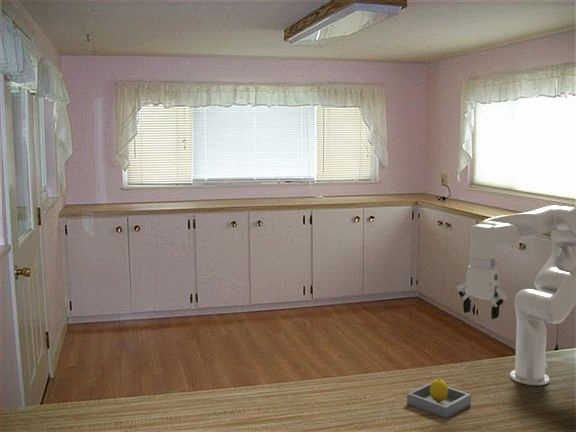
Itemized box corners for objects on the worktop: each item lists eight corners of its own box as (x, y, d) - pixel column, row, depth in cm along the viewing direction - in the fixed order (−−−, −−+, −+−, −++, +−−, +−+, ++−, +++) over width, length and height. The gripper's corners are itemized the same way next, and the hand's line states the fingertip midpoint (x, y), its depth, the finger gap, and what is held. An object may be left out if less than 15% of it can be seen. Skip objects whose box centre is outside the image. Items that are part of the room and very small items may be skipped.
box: (432, 391, 192) (432, 381, 191) (470, 405, 181) (470, 394, 181) (406, 404, 182) (407, 393, 182) (445, 419, 172) (446, 407, 172)
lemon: (448, 407, 179) (448, 382, 178) (429, 405, 180) (430, 381, 179) (447, 399, 184) (447, 375, 183) (429, 398, 185) (429, 374, 184)
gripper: (513, 265, 182) (511, 318, 184) (464, 258, 195) (462, 307, 196) (502, 268, 177) (500, 323, 179) (452, 260, 190) (450, 312, 191)
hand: (480, 315), depth 188 cm, fingers open, 9 cm apart
